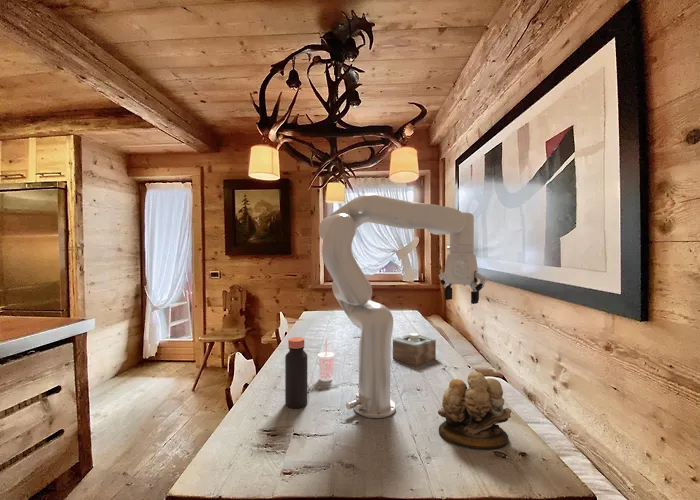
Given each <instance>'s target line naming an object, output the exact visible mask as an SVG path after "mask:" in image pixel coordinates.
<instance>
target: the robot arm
mask: <svg viewBox="0 0 700 500" xmlns="http://www.w3.org/2000/svg"><path fill="white" fill-rule="evenodd" d="M365 223H372V224H377V225H381V226H382V225H383V226H389V227H393V228H397V229H405V230H418V229H419V230H420V229H423V230H427V232H429V233H430V234H431V235H436V236H441V235H442V236H443V235H449V246H447V247H446V251H449V253H448V254H447V255H446V260H445V264H444V271H443V272H441V273H439V274H438V278H439V280H440V283H441V284H442V285H441V286H443V288H444V298H445V299H444V300H446V301H449V300H453V287H452V286H453V285H460V286H469V287H470V288H471V292H470V303H471V304H472V305H475V304H479V300H480V292H481V290H482V289H483V288H484V287H485V285H486V283H487V281H488V279H487V277H486V276H484V275H482V274H480V273H479V272H478V270H479V269H478V262H477V256H476V254H475V253H474V251H475V250H474V249H475V248H474V241H475V240H474V237H475V236H474V235H475V233H474V231H475V230H474V229H475V226H474V225H475V219H474V214H473V213H471V212H462V211H460V210H459V209H457V208H453V207H449V206H444V205H440V204H432V203H422V202H419V201H418V202H417V201H408V200H403V199H398V198H394V197H389V196H386V195H381V194H377V193H371V192H370V193H365V194H361V195H358V196H357V197H354V198H353V199H351V200H350V201H348V202H347V203H345V204H344V205H342V206H340V207H339V208H338V209H337V210H335V211H333V212H331V214H329V215H327V216H326V217H324V218H323V219H322V220H321V221H320V223H319V225H318V234H319V237H320V238H321V240H322V245H321V256H322V261H323V264H324V266H325V268H326V270H327V272H328V273H329V275H330V277H331V279H332V283H331V284H332V285H331V289H332V294H333V296H334V298H336V299H335V300H336V301H337V302H338V304H339V305H340V307H341V308H342V310H343V311H344V313H345V314H346V316H347V318H348V319H349V321H350V322H351V323H352V324H353V325H354V326H356V327H357V328H358V329H360V330H361V333H360V339H359V344H358V393H356V394H355V398H354V399H353V400H350V401H348V402H346V403H345V408H346V409H347V410H352V409H353V410H354V411H355V412H356V414H358V415H361V416H362V417H366V418H368V419H369V418H370V419H383V418H388V417H390V416H392V415H393V414H394V413H395V412H396V405H397V404H396V402H395V401H393V400H392V399H391V346H392V345H391V343H392V337H393V329H394V317H393V314H392V312H391V310H390V309H389V308H388V307H387V306H385V305H384V304H382V303H379V302H377V301H374V300H372V297H373V287H372V285H371V283H370V281H369V279H368V278H367V276H366V275H365V273H364V271H363V270H362V268H361V267H360V266H359V264H358V262H357V260H356V258H355V256H354V254H353V251H352V245H353V240H354V238H355V235H356V232H357V229H358V228H359V227H361V225H363V224H365ZM478 280H479V283H478Z"/></svg>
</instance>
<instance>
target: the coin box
mask: <svg viewBox="0 0 700 500" xmlns="http://www.w3.org/2000/svg"><path fill="white" fill-rule="evenodd" d="M408 339H409V334H408V335H404V336H398V337H396V338H392V359H394V360H396V361H400V362H402V363H404V364H407V365H409V366H413V367H415V366H419V365H421V364H426V363H428V362H429V361H432V360H436V356H437V355H436V353H437V352H436V348H437V347H436V346H437V343H436V341H437V340H436V338H432V337H429V336H424V335H421V334H419V338H418V339H420V342H416V343H414V342H411V341H408Z"/></svg>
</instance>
